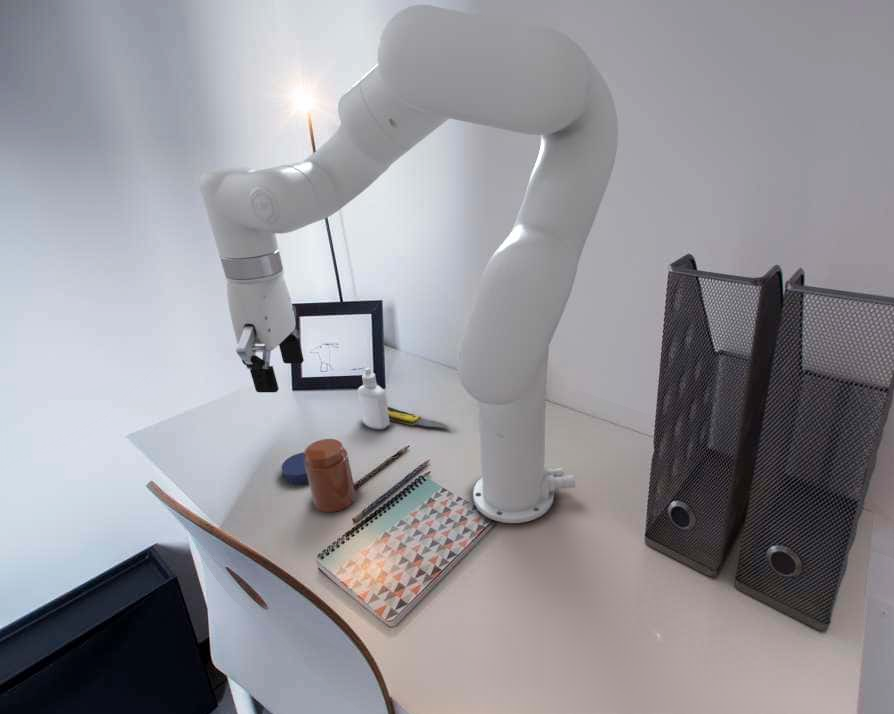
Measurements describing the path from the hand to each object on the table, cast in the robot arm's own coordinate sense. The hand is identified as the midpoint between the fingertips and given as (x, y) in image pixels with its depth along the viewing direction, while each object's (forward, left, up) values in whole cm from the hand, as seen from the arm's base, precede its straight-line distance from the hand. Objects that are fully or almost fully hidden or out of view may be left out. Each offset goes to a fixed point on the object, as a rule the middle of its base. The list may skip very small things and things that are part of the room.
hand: (281, 376), depth 81 cm
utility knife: (-18, -13, -18) cm, 29 cm away
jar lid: (0, 0, -17) cm, 17 cm away
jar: (-6, +8, -18) cm, 21 cm away
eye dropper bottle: (-11, -14, -18) cm, 26 cm away
